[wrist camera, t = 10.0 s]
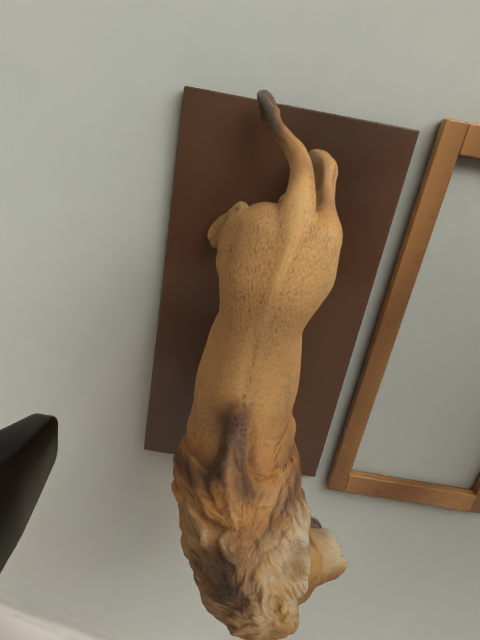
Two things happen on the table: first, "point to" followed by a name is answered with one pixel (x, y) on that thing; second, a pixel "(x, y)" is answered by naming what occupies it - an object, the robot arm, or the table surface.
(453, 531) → the table surface
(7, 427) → the robot arm
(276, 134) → the lion figurine
